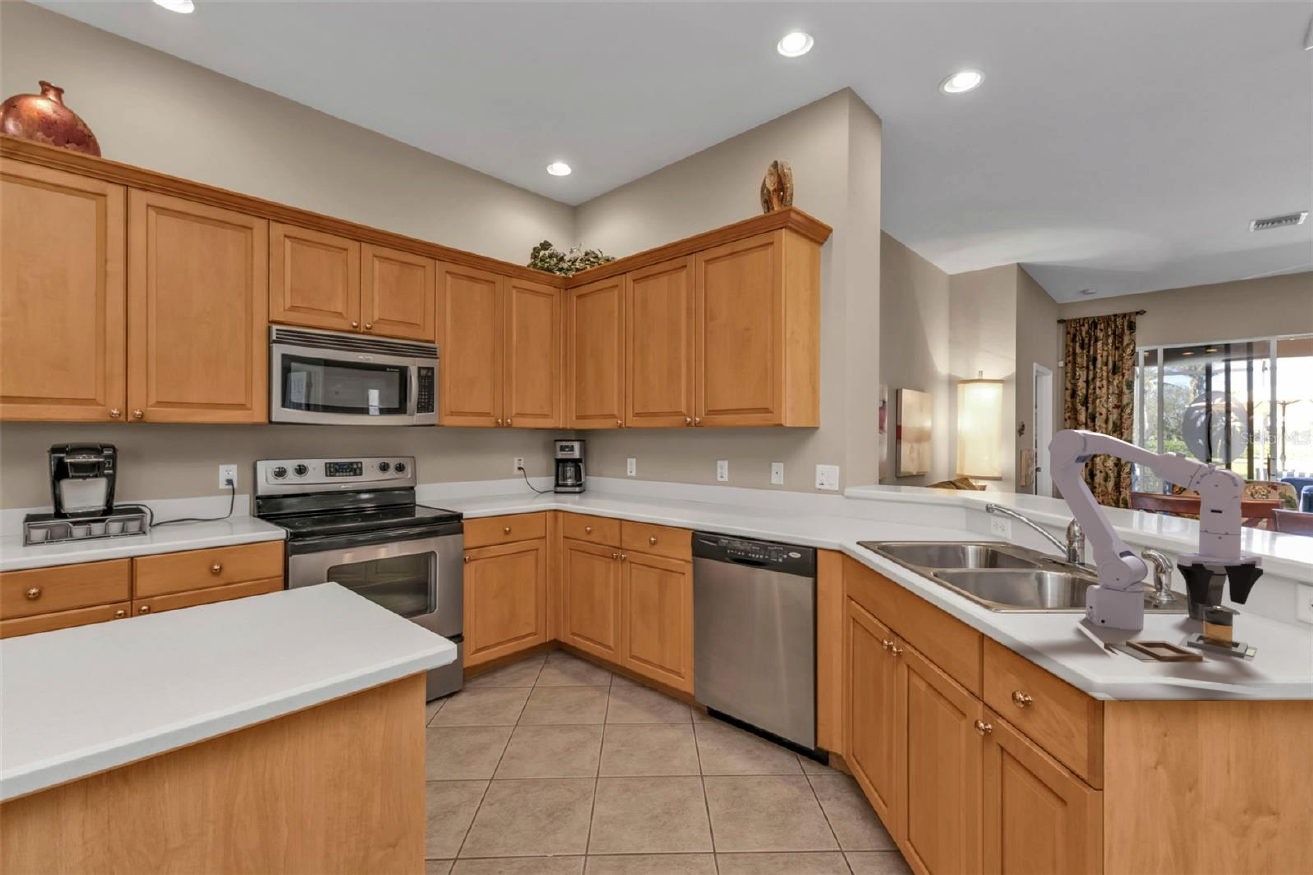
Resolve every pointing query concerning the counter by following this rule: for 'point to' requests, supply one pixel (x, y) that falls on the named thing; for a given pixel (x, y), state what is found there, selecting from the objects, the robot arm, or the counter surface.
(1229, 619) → the cell
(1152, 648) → the trough board
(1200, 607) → the beverage cup
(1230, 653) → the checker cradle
